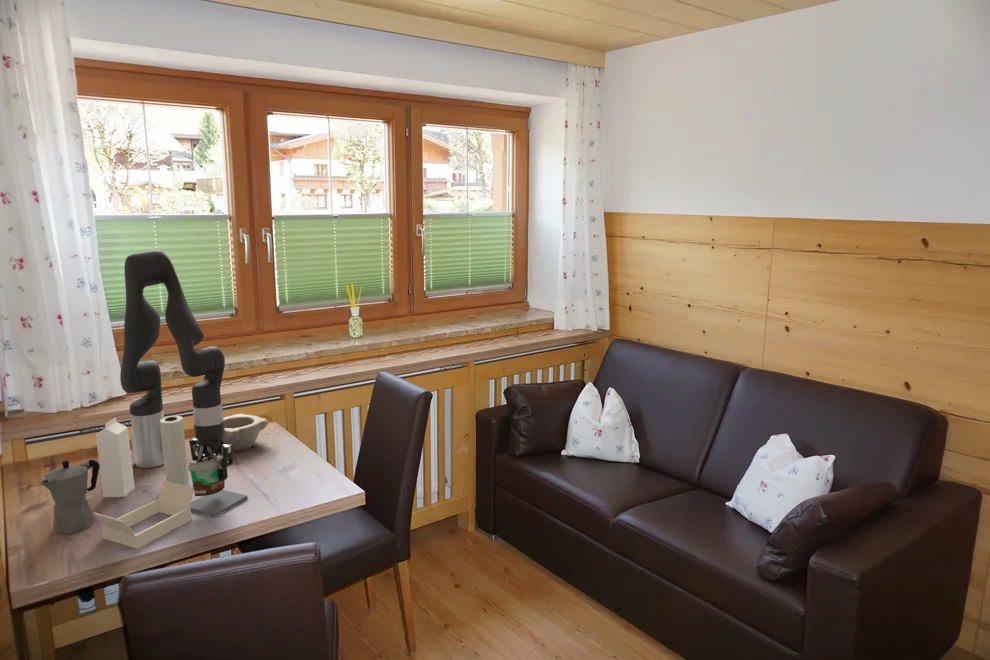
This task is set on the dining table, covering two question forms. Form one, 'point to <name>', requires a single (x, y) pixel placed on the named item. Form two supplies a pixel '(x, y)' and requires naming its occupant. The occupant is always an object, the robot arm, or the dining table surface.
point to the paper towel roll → (174, 450)
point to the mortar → (242, 430)
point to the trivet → (217, 502)
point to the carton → (169, 502)
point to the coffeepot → (71, 496)
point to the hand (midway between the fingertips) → (213, 477)
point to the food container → (206, 476)
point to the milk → (115, 460)
